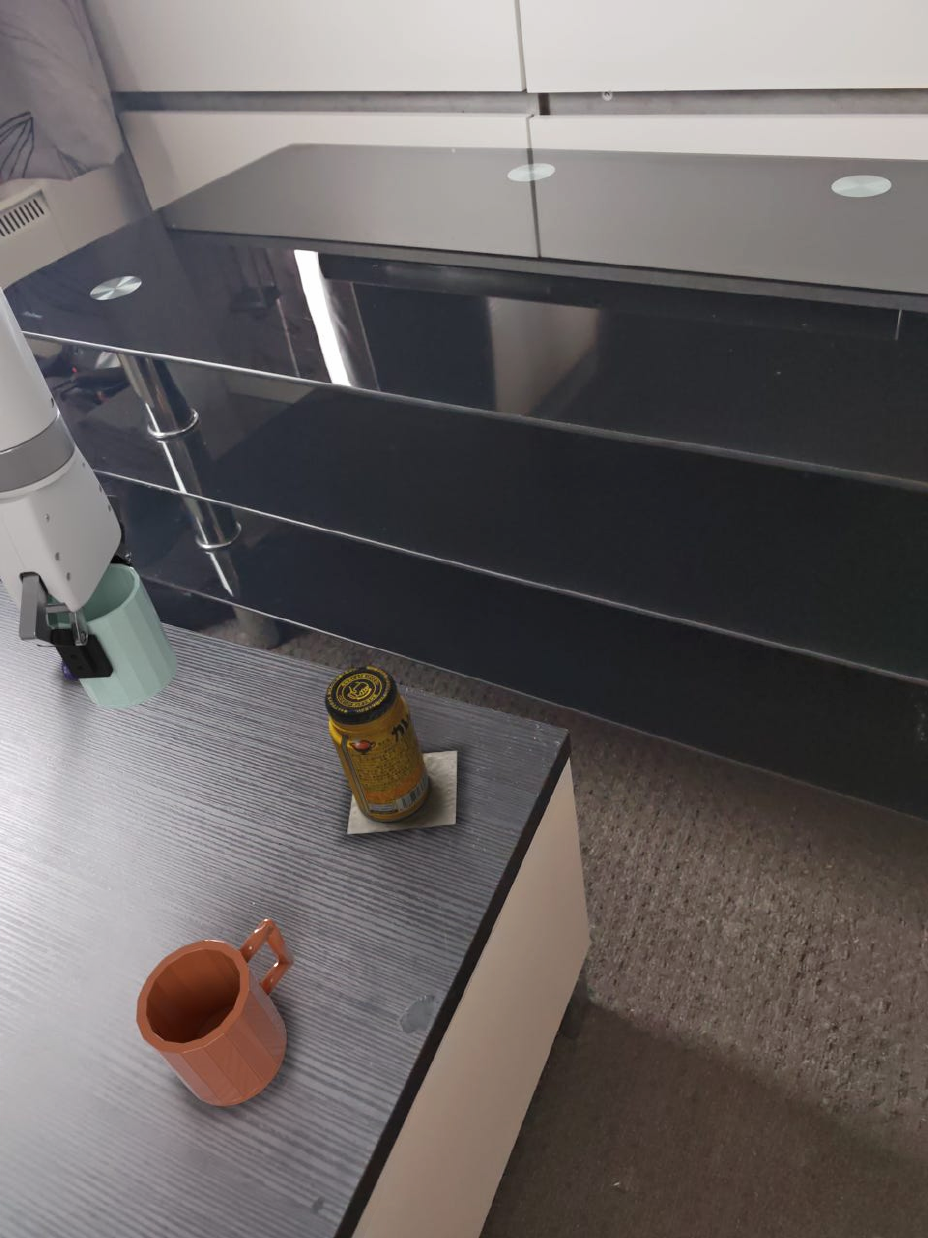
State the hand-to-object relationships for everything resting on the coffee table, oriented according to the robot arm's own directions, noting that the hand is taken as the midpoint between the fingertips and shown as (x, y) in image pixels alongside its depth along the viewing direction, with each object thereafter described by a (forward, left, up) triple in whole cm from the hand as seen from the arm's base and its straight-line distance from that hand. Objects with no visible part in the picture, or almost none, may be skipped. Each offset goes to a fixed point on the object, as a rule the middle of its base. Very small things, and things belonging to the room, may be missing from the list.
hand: (112, 636), depth 74 cm
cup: (0, 0, -4) cm, 4 cm away
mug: (+14, -26, -12) cm, 32 cm away
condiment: (+23, -8, -12) cm, 27 cm away
